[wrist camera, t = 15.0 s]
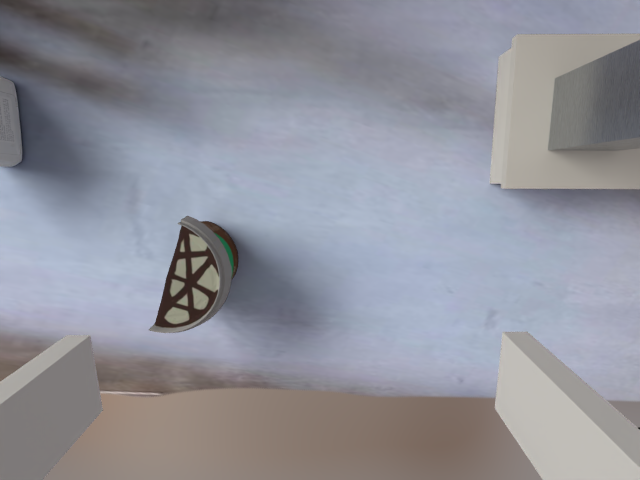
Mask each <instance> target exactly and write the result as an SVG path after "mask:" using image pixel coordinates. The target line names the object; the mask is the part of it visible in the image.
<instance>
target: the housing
mask: <svg viewBox="0 0 640 480" xmlns="http://www.w3.org/2000/svg"><path fill="white" fill-rule="evenodd" d="M638 148H640V40H638V41H636V42H634V43H631V44H629V45H627V46H625V47H623V48H620V49H618V50H616V51H614V52H612V53H609V54H607V55H605V56H603V57H601V58H598V59H596V60H594V61H592V62H590V63H587V64H585V65H583V66H581V67H579V68H577V69H574V70H572V71H570V72H568V73H566V74H563V75H561V76H559V77H557V78H555V83H554V93H553V103H552V113H551V123H550V133H549V143H548V150H574V151H619V150H628V149H638Z"/></svg>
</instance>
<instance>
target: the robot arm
mask: <svg viewBox="0 0 640 480" xmlns="http://www.w3.org/2000/svg"><path fill="white" fill-rule="evenodd" d="M102 409H103V408H102V402H101V396H100V390H99V384H98V378H97V372H96V366H95V360H94V354H93V348H92V342H91V336H90V335H67V336H65V337H64V338H62V339H61V340H59V341H58V342H57V343H55V344H54V345H52V346H51V347H49V348H48V349H47V350H45V351H44V352H42V353H41V354H39V355H38V356H37V357H35V358H34V359H32V360H31V361H29V362H28V363H27V364H25V365H24V366H22V367H21V368H19V369H18V370H17V371H15V372H14V373H12V374H11V375H9V376H8V377H6V378H5V379H4V380H2V381H1V382H0V480H43V479H44V477H45V476H46V475H47V474H48V473H49V472H50V470H51V469H52V468H53V467H54V466H55V465H56V464H57V462H58V461H59V460H60V459H61V458H62V457H63V455H64V454H65V453H66V452H67V451H68V450H69V449H70V447H71V446H72V445H73V444H74V443H75V442H76V441H77V439H78V438H79V437H80V436H81V435H82V434H83V433H84V431H85V430H86V429H87V428H88V427H89V426H90V424H91V423H92V422H93V421H94V419H96V418H97V416H98V415H99V414H100V413H101V412H102V411H103V410H102ZM495 409H496V411H497V412H498V414H499V415H500V417H501V418H502V420H503V421H504V423H505V424H506V426H507V427H508V429H509V430H510V432H511V433H512V435H513V436H514V437H515V439H516V441H517V442H518V443H519V445H520V446H521V448H522V449H523V451H524V452H525V454H526V455H527V457H528V458H529V460H530V461H531V463H532V464H533V466H534V467H535V469H536V470H537V472H538V473H539V475H540V476H541V478H542V479H543V480H640V428H637V427H636V426H635V425H634V424H632V423H631V422H630V421H629V420H628V419H627V418H626V417H625V416H623V415H622V414H621V413H620V412H619V411H618V410H616V409H615V408H614V407H613V406H612V405H611V404H610V403H608V402H607V401H606V400H605V399H604V398H603V397H602V396H600V395H599V394H598V393H597V392H596V391H595V390H594V389H592V388H591V387H590V386H589V385H588V384H587V383H585V382H584V381H583V380H582V379H581V378H580V377H579V376H577V375H576V374H575V373H574V372H573V371H572V370H571V369H569V368H568V367H567V366H566V365H565V364H564V363H563V362H561V361H560V360H559V359H558V358H557V357H556V356H554V355H553V354H552V353H551V352H550V351H549V350H548V349H546V348H545V347H544V346H543V345H542V344H541V343H540V342H538V341H537V340H536V339H535V338H534V337H533V336H532V335H530V334H529V333H528V332H503V334H502V344H501V353H500V363H499V373H498V382H497V392H496V402H495Z"/></svg>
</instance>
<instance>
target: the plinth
mask: <svg viewBox="0 0 640 480" xmlns="http://www.w3.org/2000/svg"><path fill="white" fill-rule="evenodd" d="M638 40H640V34H517V35H516V36H515V37H513V38H512V48H510V49H509V50H508V51H506V52H505V53H503V54H502V55H501V56H499V62H498V76H497V90H496V103H495V117H494V131H493V145H492V159H491V173H490V184H501V189H640V148H638V149H628V150H619V151H574V150H548V143H549V133H550V123H551V113H552V103H553V93H554V83H555V78H557V77H559V76H561V75H563V74H566V73H568V72H570V71H572V70H574V69H577V68H579V67H581V66H583V65H585V64H587V63H590V62H592V61H594V60H596V59H598V58H601V57H603V56H605V55H607V54H609V53H612V52H614V51H616V50H618V49H620V48H623V47H625V46H627V45H629V44H631V43H634V42H636V41H638Z"/></svg>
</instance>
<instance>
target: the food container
mask: <svg viewBox="0 0 640 480" xmlns="http://www.w3.org/2000/svg"><path fill="white" fill-rule="evenodd" d="M178 224H179V225H182V227H181V230H180V234H179V239H178V243H177V246H176V249H175V253H174V256H173V259H172V262H171V265H170V268H169V272H168V275H167V278H166V283H165V287H164V292H163V296H162V300H161V304H160V307H159V311H158V315H157V318H156V322H155V324H154V325H153V326H152V327H151V328H150V329H149V330H150V331H154V332H161V333H175V332H182V331H186V330H189V329H192V328H194V327H196V326H198V325H201V324H202V323H204V322H206V321H207V320H209V319H210V318H211V317H213V316H214V315H215V314H216V313H217V312H218V311H219V310H220V308H221V307H222V305H223V304H224V302H225V300H226V298H227V296H228V293H229V290H230V285H231V280H232V279H233V277H234V275H235V273H236V271H237V267H238V252H237V249H236V246H235V244H234V241H233V240H232V238H231V237H230V236H229V234H228V233H227V232H226V231H225V230H223V229H222V228H221V227H219V226H218V225H216V224H214V223H211V222H209V221H203V222H200V221H198V220H196V219H194V218H192V217H189V216H186V217H185V218H183V219H182V220H181V222H179V223H178Z"/></svg>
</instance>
